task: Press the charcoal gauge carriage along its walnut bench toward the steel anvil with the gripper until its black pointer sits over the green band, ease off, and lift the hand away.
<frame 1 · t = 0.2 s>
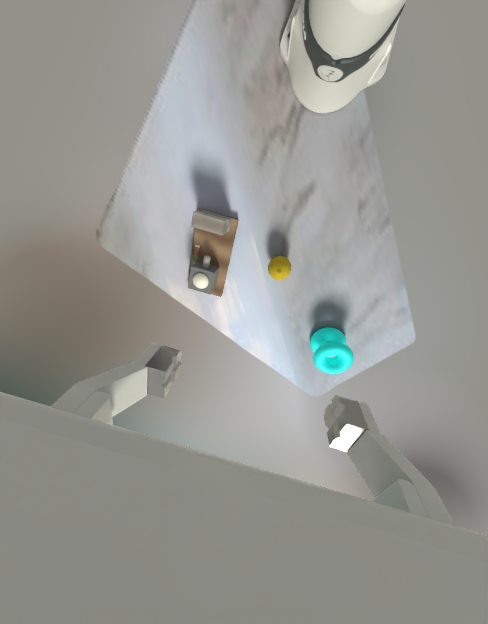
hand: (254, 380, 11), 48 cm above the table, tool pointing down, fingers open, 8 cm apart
gauge carriage: (201, 271, 55), point 5 cm above the table, slide at 0.0 cm
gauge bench: (211, 255, 57), on the table
lemon: (279, 263, 56), on the table
donuts: (326, 339, 64), on the table
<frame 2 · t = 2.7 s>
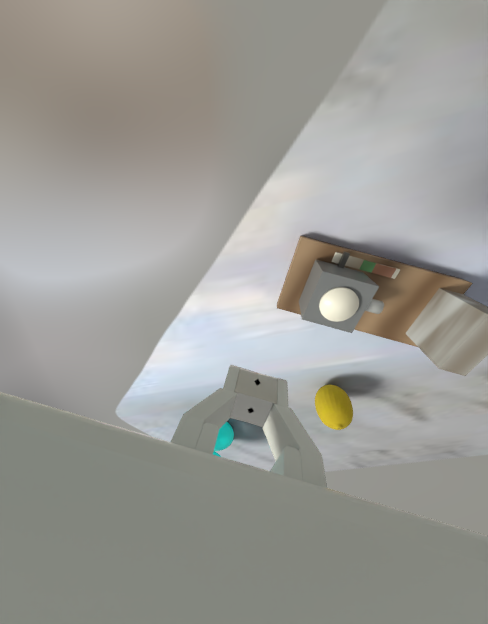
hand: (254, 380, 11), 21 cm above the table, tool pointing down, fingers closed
gauge carriage: (347, 292, 25), point 4 cm above the table, slide at 0.0 cm
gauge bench: (361, 292, 29), on the table
lemon: (327, 385, 38), on the table
donuts: (213, 425, 49), on the table
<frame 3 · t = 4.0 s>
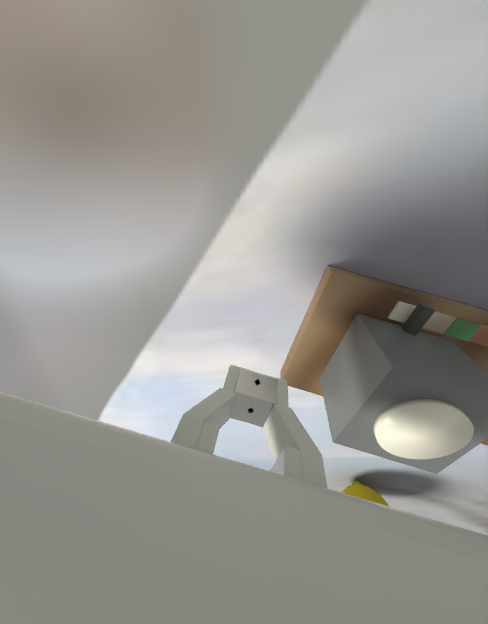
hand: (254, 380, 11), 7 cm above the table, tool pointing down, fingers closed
gauge carriage: (428, 387, 12), point 5 cm above the table, slide at 0.0 cm
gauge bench: (432, 363, 16), on the table
lemon: (355, 479, 25), on the table
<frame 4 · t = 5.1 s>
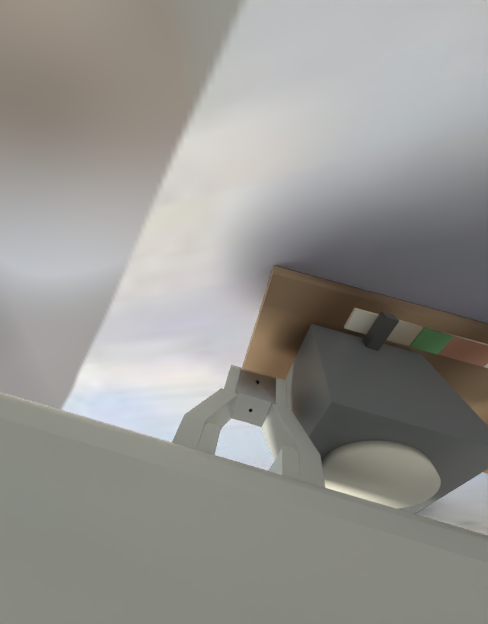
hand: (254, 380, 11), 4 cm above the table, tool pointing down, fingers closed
gauge carriage: (392, 415, 10), point 5 cm above the table, slide at 0.2 cm, touching gripper
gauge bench: (403, 377, 14), on the table
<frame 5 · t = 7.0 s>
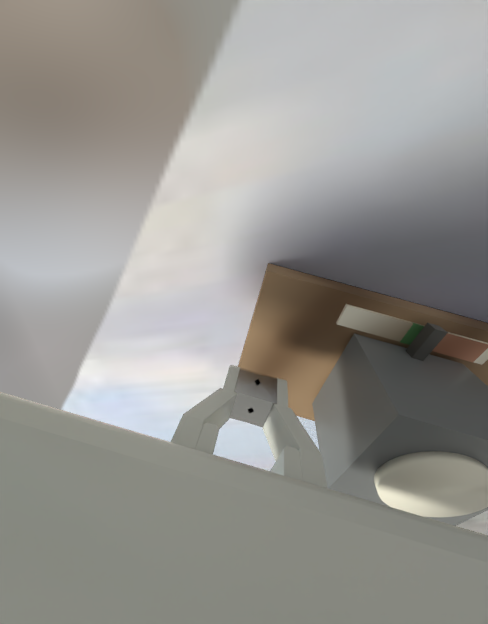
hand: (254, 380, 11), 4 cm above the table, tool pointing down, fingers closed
gauge carriage: (439, 424, 10), point 5 cm above the table, slide at 3.0 cm
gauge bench: (396, 373, 14), on the table
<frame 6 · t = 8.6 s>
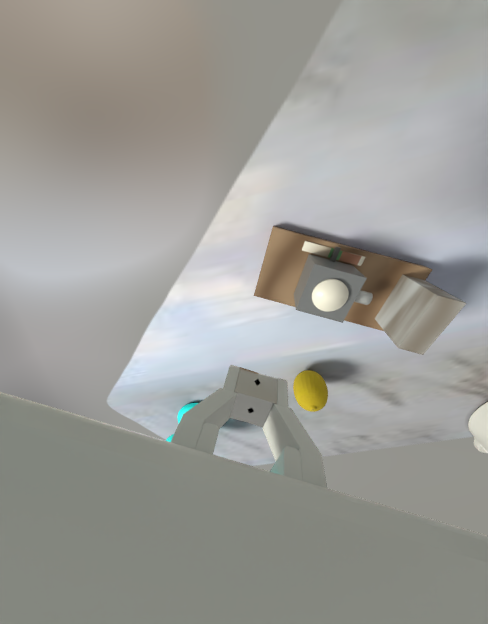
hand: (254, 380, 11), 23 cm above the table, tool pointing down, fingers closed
gauge carriage: (339, 284, 26), point 4 cm above the table, slide at 3.0 cm
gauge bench: (332, 280, 31), on the table
lemon: (307, 372, 40), on the table
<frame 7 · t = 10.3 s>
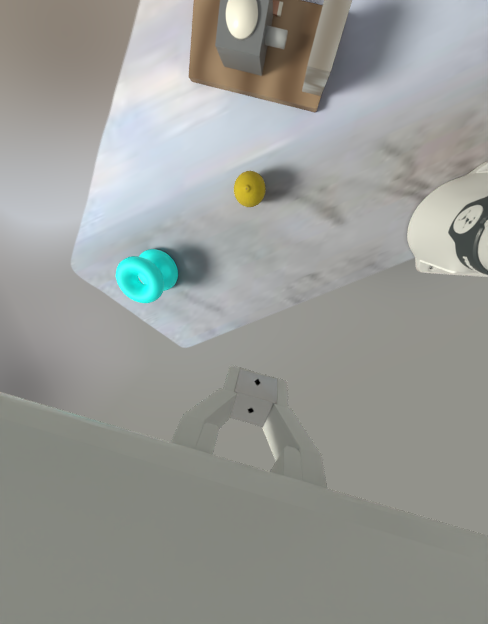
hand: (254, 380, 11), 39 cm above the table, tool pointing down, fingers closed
gauge carriage: (256, 21, 28), point 4 cm above the table, slide at 3.0 cm
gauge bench: (261, 53, 32), on the table
lemon: (252, 190, 41), on the table
donuts: (160, 268, 52), on the table
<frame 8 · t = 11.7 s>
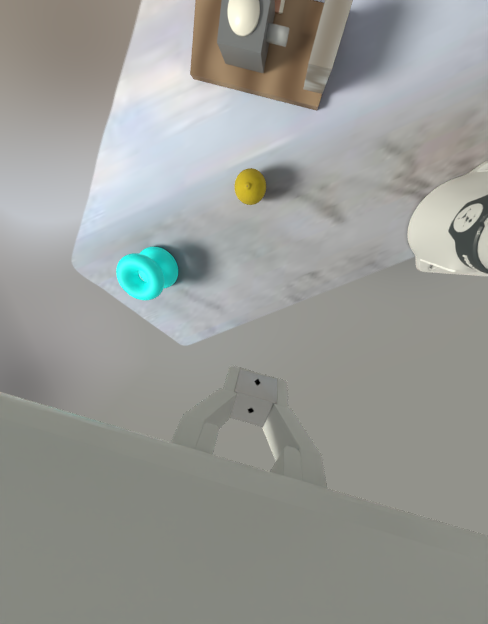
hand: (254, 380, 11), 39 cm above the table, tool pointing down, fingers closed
gauge carriage: (257, 18, 28), point 4 cm above the table, slide at 3.0 cm
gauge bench: (262, 50, 32), on the table
lemon: (253, 188, 41), on the table
donuts: (161, 266, 52), on the table
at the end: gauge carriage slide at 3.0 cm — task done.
